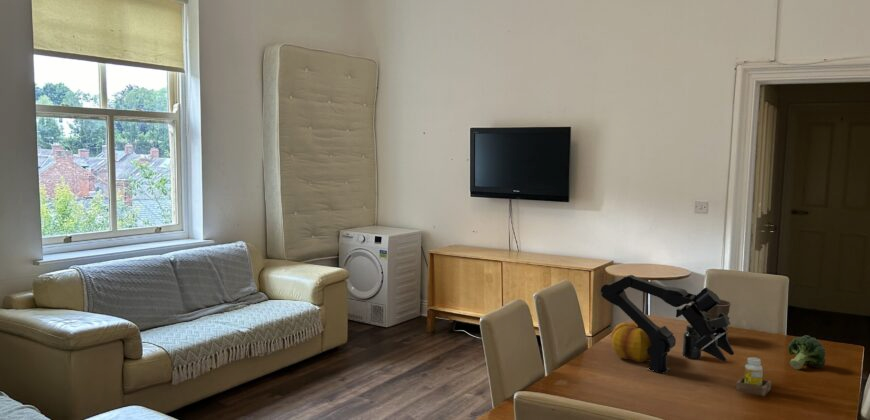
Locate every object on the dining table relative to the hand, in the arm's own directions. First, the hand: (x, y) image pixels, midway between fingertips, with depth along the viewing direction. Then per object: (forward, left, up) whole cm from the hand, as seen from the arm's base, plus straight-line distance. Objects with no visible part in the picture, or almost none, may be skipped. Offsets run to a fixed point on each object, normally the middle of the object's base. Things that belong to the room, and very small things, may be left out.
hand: (729, 357), depth 224 cm
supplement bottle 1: (+21, +24, -10) cm, 33 cm away
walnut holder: (+1, -8, -9) cm, 12 cm away
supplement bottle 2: (+1, -8, -9) cm, 12 cm away
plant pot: (+52, +32, -10) cm, 62 cm away
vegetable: (+41, -10, -10) cm, 44 cm away
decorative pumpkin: (+4, +37, -10) cm, 38 cm away
